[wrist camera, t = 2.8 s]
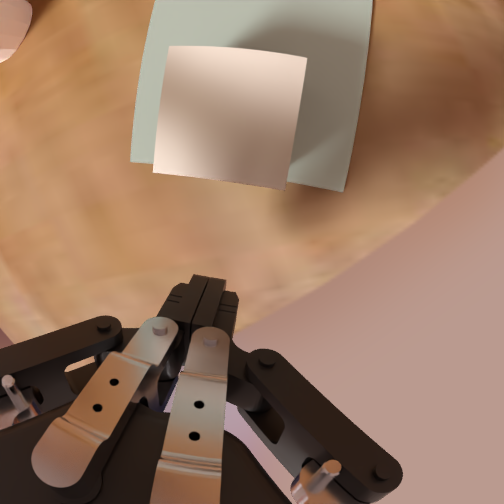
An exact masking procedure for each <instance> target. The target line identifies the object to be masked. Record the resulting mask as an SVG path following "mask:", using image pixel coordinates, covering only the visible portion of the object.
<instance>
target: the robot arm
mask: <svg viewBox="0 0 504 504" xmlns="http://www.w3.org/2000/svg"><path fill="white" fill-rule="evenodd" d="M225 289H226V280H224V279H218V278H212V277H206V276H201V275H195V274H194V275H193V277H192V278H191V280H190V282H189V284H185V283H180V284H178V285H176V286H175V287H173V289H172V291H171V292H170V294H169V296H168V297H167V299H166V301H165V302H164V304H163V306H162V308H161V309H160V311H159V313H158V315H157V316H156V317H153V318H150V319H148V320H146V321H145V322H144V323H143V324H142V326H141V327H140V328H122V326H121V323H120V321H119V320H118V319H117V318H115V317H112V316H99V317H95V318H92V319H89V320H87V321H84V322H81V323H78V324H75V325H72V326H69V327H66V328H63V329H60V330H57V331H54V332H51V333H48V334H45V335H42V336H39V337H36V338H33V339H30V340H27V341H24V342H20V343H17V344H14V345H11V346H8V347H5V348H2V349H0V504H292V503H291V502H290V501H289V499H288V498H287V497H286V496H285V495H284V494H283V492H282V491H281V490H280V489H279V487H278V486H277V485H276V484H275V482H274V481H273V480H272V479H271V478H270V476H269V475H268V474H267V473H266V471H265V470H264V469H263V467H262V466H261V465H260V463H259V462H258V461H257V459H256V458H255V457H254V455H253V454H252V453H251V451H250V450H249V449H248V448H247V446H246V445H245V444H244V443H243V442H242V441H241V440H239V439H238V438H237V437H236V436H234V435H233V434H231V433H229V432H227V431H225V430H224V419H225V405H226V401H227V402H229V403H231V404H234V405H236V406H237V409H238V411H239V413H240V414H241V416H242V417H243V418H244V420H245V421H246V422H247V423H248V425H249V426H250V427H251V428H252V430H253V431H254V432H255V433H256V434H257V436H258V437H259V438H260V439H261V440H262V441H263V443H264V444H265V445H266V446H267V448H268V449H269V450H270V451H271V452H272V453H273V454H274V456H275V457H276V458H277V459H278V460H279V461H280V463H281V464H282V465H283V466H284V467H285V468H286V469H287V470H288V472H289V473H290V474H291V475H292V476H293V477H294V478H295V479H294V480H293V482H292V484H291V488H290V491H291V494H292V497H293V498H294V500H295V501H296V503H297V504H374V503H375V502H377V501H379V500H380V499H382V498H383V497H384V496H386V495H387V494H388V493H390V492H392V491H393V490H394V489H396V488H397V487H398V486H399V484H400V483H401V481H402V477H403V472H402V468H401V466H400V464H399V463H398V461H397V460H396V459H394V458H393V457H392V456H391V455H390V454H388V453H387V452H386V451H385V450H384V449H383V448H381V447H380V446H379V445H378V444H377V443H376V442H374V441H373V440H372V439H371V438H370V437H369V436H367V435H366V434H365V433H364V432H363V431H362V430H360V428H358V427H357V426H356V425H355V424H354V423H353V422H352V421H351V420H350V419H348V418H347V417H346V416H345V415H344V414H343V413H342V412H341V411H340V410H338V409H337V408H336V407H335V406H334V405H333V404H332V403H331V402H330V401H329V400H328V399H327V398H325V397H324V396H323V395H322V394H321V393H320V392H319V391H318V390H317V389H316V388H315V387H314V386H313V385H312V384H310V382H308V380H306V379H305V378H304V377H303V376H302V375H301V374H300V373H299V372H298V371H297V370H296V369H295V368H294V367H293V366H292V365H291V364H290V363H289V362H288V361H287V360H286V359H285V358H284V357H283V356H281V354H279V353H278V352H276V351H273V350H269V349H257V350H254V351H252V352H251V353H248V352H245V351H243V350H241V349H240V348H238V347H237V346H236V345H235V344H234V342H233V340H232V338H233V333H234V328H235V322H236V316H237V309H238V302H239V299H238V296H237V294H236V292H230V291H225ZM91 356H94V359H95V362H93V363H90V364H88V365H85V366H83V367H80V368H77V369H75V370H72V371H69V372H64V371H65V369H66V367H67V366H68V365H70V364H73V363H76V362H78V361H81V360H83V359H86V358H89V357H91ZM181 366H185V367H184V371H181V372H180V369H181ZM179 372H180V375H179ZM177 382H178V384H177ZM176 384H177V387H176V392H175V396H174V400H173V405H172V409H171V413H166V412H165V413H164V410H165V408H166V406H167V403H168V401H169V399H170V397H171V395H172V392H173V390H174V388H175V386H176Z"/></svg>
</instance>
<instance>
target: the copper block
mask: <svg viewBox="0 0 504 504" xmlns="http://www.w3.org/2000/svg"><path fill="white" fill-rule="evenodd" d="M306 63H307V58H305V57H300V56H294V55H288V54H282V53H276V52H269V51H261V50H252V49H243V48H231V47H215V46H169V49H168V55H167V60H166V66H165V72H164V78H163V85H162V91H161V99H160V106H159V114H158V122H157V132H156V142H155V153H154V165H153V173H162V174H172V175H181V176H189V177H197V178H205V179H213V180H220V181H227V182H234V183H241V184H247V185H254V186H260V187H266V188H272V189H278V190H284V191H285V188H286V183H287V177H288V171H289V166H290V160H291V154H292V149H293V143H294V137H295V131H296V125H297V119H298V113H299V107H300V101H301V95H302V89H303V83H304V76H305V70H306Z"/></svg>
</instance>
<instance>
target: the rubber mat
mask: <svg viewBox="0 0 504 504" xmlns="http://www.w3.org/2000/svg"><path fill="white" fill-rule="evenodd" d="M372 2H373V0H155V4H154V8H153V12H152V16H151V20H150V24H149V29H148V33H147V38H146V43H145V48H144V53H143V58H142V64H141V70H140V76H139V82H138V89H137V97H136V104H135V113H134V122H133V132H132V144H131V158H130V162H138V163H150V164H154V153H155V142H156V132H157V122H158V114H159V106H160V99H161V91H162V85H163V78H164V72H165V66H166V60H167V55H168V49H169V46H215V47H231V48H243V49H252V50H261V51H269V52H276V53H282V54H288V55H294V56H300V57H305V58H307V63H306V70H305V76H304V83H303V89H302V95H301V101H300V107H299V113H298V119H297V125H296V131H295V137H294V143H293V149H292V154H291V160H290V166H289V171H288V177H287V182H292V183H297V184H303V185H308V186H313V187H318V188H323V189H328V190H333V191H338V192H343V191H344V187H345V182H346V178H347V173H348V168H349V164H350V159H351V154H352V149H353V144H354V138H355V133H356V127H357V122H358V116H359V110H360V104H361V98H362V91H363V84H364V77H365V70H366V62H367V54H368V46H369V36H370V26H371V15H372Z"/></svg>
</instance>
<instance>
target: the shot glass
mask: <svg viewBox="0 0 504 504" xmlns="http://www.w3.org/2000/svg"><path fill="white" fill-rule="evenodd" d="M31 18H32V6H31V4H30V3H28V2H27V1H26V0H0V63H1V62H3V61H5V60H7V59H8V58H10V57H11V55H12V54H13V53H14V52H15V51H16V50H17V49H18V47H19V46H20V44H21V42H22V41H23V39H24V38H25V35H26V33H27V31H28V28H29V26H30V22H31Z"/></svg>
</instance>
